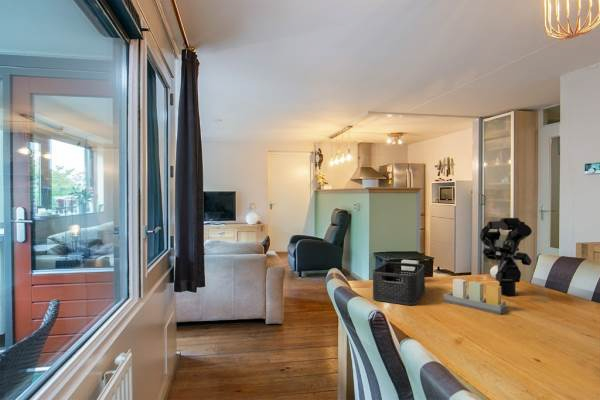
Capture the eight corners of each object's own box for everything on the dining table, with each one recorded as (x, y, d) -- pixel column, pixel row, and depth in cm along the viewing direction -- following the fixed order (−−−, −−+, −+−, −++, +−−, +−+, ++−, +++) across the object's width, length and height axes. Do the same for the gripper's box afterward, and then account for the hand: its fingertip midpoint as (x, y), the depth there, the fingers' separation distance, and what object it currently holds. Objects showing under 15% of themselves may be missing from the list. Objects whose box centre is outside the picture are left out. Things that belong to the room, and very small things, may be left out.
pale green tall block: (472, 299, 150) (472, 281, 150) (483, 301, 146) (483, 283, 146) (468, 301, 148) (468, 282, 148) (479, 303, 144) (479, 284, 144)
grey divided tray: (452, 298, 157) (452, 291, 157) (507, 310, 140) (507, 302, 140) (443, 301, 152) (443, 294, 152) (500, 314, 135) (500, 306, 135)
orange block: (489, 303, 145) (489, 284, 145) (501, 305, 141) (501, 286, 141) (486, 304, 142) (486, 285, 142) (498, 307, 139) (497, 287, 139)
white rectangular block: (456, 296, 155) (456, 278, 155) (466, 298, 152) (466, 280, 152) (452, 297, 153) (452, 279, 153) (463, 299, 150) (462, 281, 149)
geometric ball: (502, 284, 191) (512, 273, 188) (492, 280, 189) (502, 269, 185) (493, 274, 198) (503, 264, 195) (484, 271, 195) (493, 260, 192)
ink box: (419, 282, 187) (419, 260, 187) (417, 284, 183) (417, 261, 183) (403, 280, 191) (403, 259, 191) (401, 282, 187) (401, 260, 187)
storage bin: (387, 286, 180) (387, 260, 180) (426, 290, 170) (425, 263, 170) (370, 301, 155) (370, 271, 154) (415, 307, 145) (415, 275, 145)
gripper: (483, 230, 160) (470, 258, 155) (526, 234, 143) (513, 266, 139) (494, 244, 164) (481, 272, 159) (537, 249, 148) (524, 280, 143)
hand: (499, 272), depth 150 cm, fingers closed
